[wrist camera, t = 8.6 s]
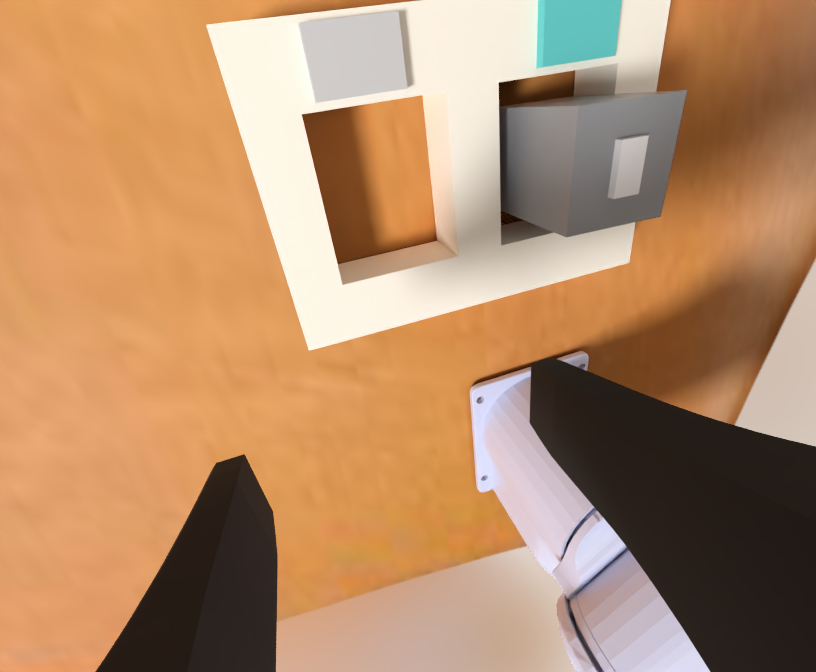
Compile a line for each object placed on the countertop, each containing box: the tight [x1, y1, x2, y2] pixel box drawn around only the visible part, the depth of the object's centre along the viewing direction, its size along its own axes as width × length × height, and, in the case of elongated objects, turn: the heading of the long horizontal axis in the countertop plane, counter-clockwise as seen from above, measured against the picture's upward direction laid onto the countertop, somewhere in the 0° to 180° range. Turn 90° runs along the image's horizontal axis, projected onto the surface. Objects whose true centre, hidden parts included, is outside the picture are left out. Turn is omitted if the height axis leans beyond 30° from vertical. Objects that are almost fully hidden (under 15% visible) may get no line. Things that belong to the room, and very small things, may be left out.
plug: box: [499, 90, 687, 237], centre depth 16 cm, size 4×4×6 cm
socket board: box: [206, 0, 671, 351], centre depth 16 cm, size 11×16×3 cm
